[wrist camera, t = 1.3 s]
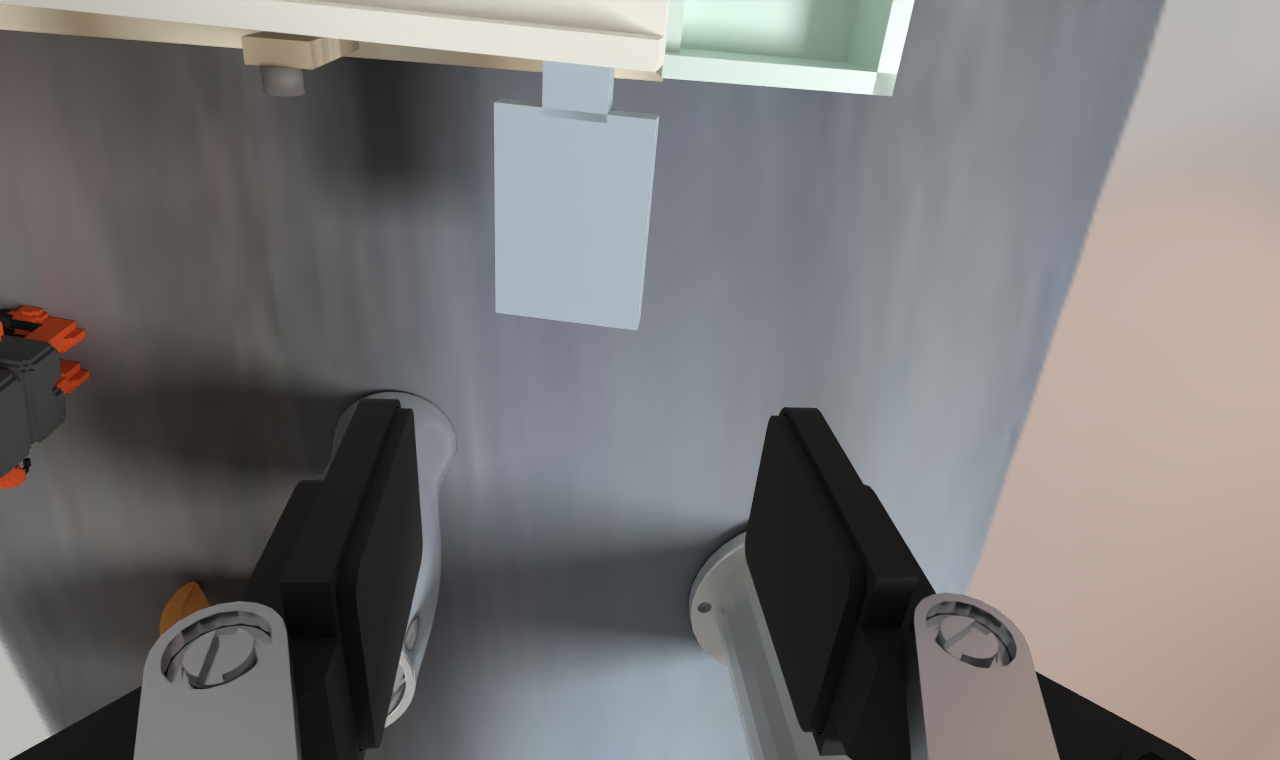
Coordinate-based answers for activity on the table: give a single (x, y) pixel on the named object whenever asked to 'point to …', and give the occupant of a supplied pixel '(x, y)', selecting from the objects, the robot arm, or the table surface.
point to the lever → (516, 128)
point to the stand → (258, 45)
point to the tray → (788, 43)
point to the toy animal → (33, 383)
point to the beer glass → (433, 467)
